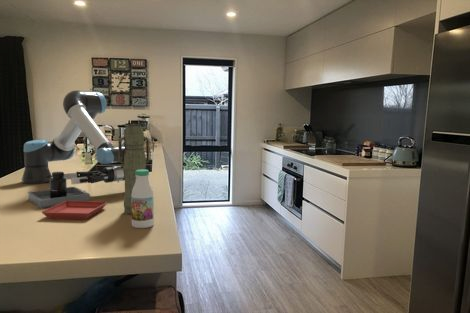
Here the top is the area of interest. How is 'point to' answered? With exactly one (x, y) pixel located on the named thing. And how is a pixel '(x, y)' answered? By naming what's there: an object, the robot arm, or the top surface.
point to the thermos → (132, 159)
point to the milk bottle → (142, 201)
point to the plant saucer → (74, 210)
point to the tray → (44, 199)
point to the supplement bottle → (58, 185)
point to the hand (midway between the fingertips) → (66, 179)
